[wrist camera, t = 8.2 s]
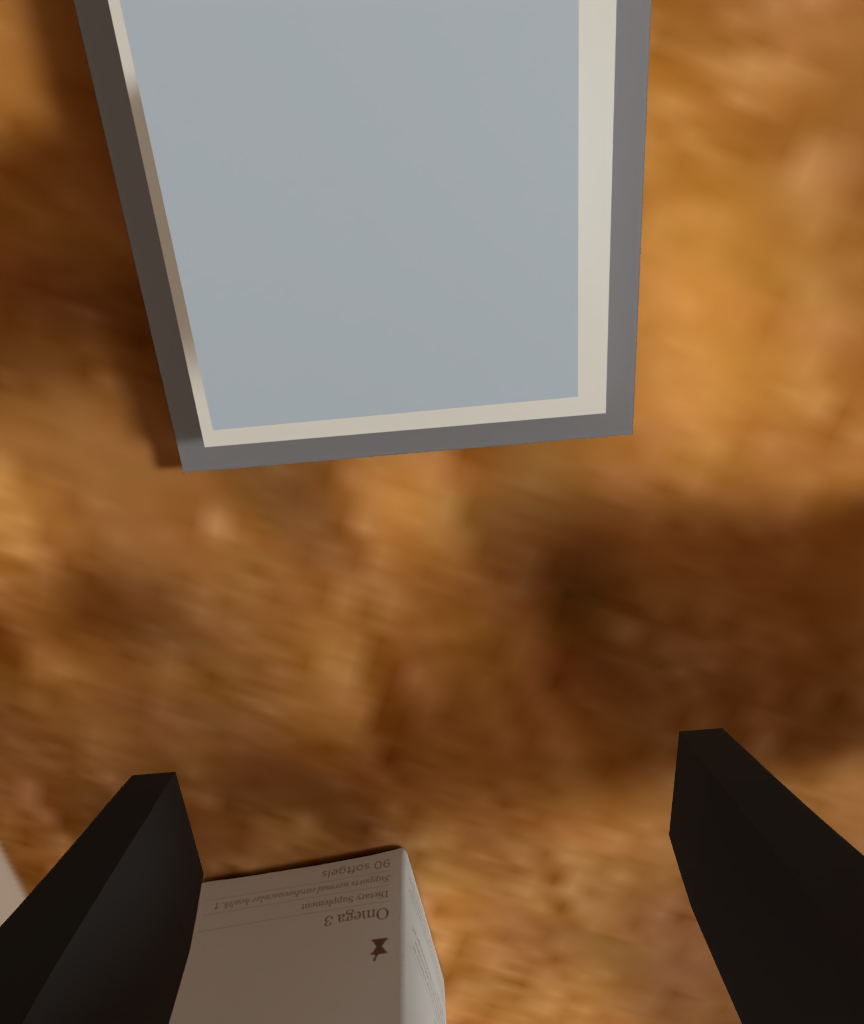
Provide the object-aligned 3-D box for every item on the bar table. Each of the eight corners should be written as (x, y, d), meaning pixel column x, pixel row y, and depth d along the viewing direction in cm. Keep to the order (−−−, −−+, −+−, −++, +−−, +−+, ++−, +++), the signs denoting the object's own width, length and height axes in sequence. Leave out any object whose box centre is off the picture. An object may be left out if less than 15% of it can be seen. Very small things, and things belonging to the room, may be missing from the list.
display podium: (623, 424, 19) (647, 451, 17) (191, 460, 19) (170, 491, 17) (646, -192, 14) (684, -246, 12) (54, -145, 14) (2, -194, 12)
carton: (491, 289, 15) (577, 396, 8) (299, 306, 15) (213, 430, 8) (480, 34, 13) (578, -124, 6) (260, 53, 13) (101, -84, 6)
